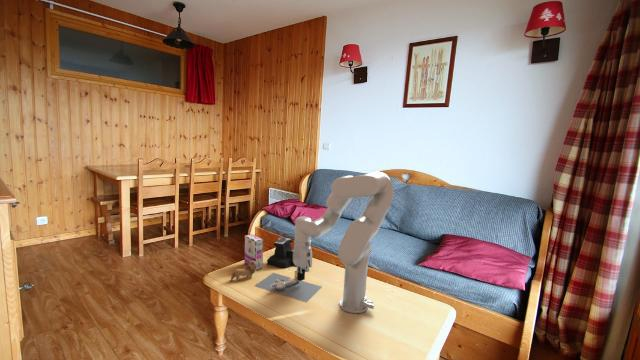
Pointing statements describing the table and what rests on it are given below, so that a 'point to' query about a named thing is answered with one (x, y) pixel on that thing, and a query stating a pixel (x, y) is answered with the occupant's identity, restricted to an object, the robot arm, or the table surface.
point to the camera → (282, 254)
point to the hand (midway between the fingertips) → (301, 279)
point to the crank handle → (284, 283)
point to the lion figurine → (245, 271)
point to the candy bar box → (253, 250)
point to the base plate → (290, 287)
